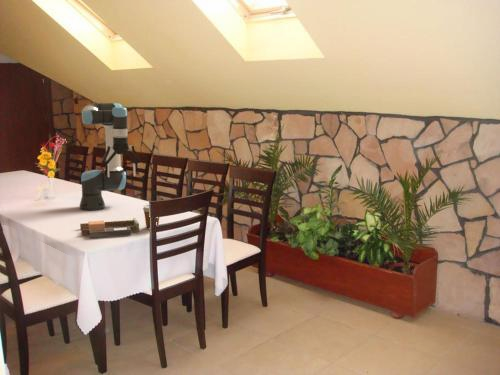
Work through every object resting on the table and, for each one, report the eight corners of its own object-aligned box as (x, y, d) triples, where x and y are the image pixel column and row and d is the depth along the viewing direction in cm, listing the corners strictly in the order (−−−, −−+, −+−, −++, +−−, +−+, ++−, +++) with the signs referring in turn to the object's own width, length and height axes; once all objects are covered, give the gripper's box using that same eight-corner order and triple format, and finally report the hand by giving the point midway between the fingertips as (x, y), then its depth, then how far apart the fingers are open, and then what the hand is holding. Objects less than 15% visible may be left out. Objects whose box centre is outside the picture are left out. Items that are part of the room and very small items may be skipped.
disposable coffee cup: (162, 225, 288) (161, 204, 286) (159, 230, 279) (159, 208, 277) (145, 225, 288) (144, 204, 286) (142, 230, 279) (141, 208, 276)
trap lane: (80, 229, 278) (80, 221, 278) (135, 225, 288) (135, 218, 287) (82, 239, 261) (81, 231, 260) (140, 234, 271) (140, 227, 270)
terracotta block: (88, 230, 276) (88, 221, 275) (104, 229, 279) (104, 220, 278) (89, 233, 271) (88, 224, 270) (105, 232, 273) (104, 223, 272)
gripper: (96, 137, 267) (98, 178, 272) (145, 137, 276) (146, 176, 280) (95, 136, 274) (97, 176, 278) (143, 135, 283) (143, 174, 287)
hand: (121, 176), depth 279 cm, fingers open, 13 cm apart
